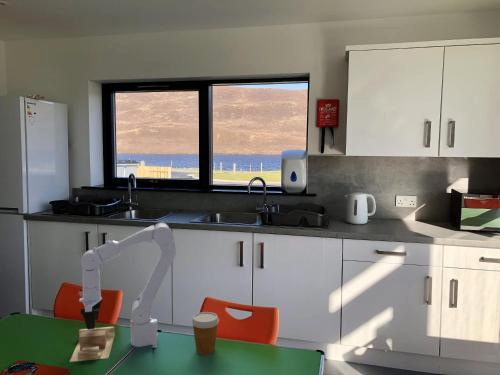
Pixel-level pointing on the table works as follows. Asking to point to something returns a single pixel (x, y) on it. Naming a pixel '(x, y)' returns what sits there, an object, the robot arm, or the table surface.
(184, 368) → the table surface
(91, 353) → the offcut stack
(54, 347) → the table surface
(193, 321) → the disposable coffee cup
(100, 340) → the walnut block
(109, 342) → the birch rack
